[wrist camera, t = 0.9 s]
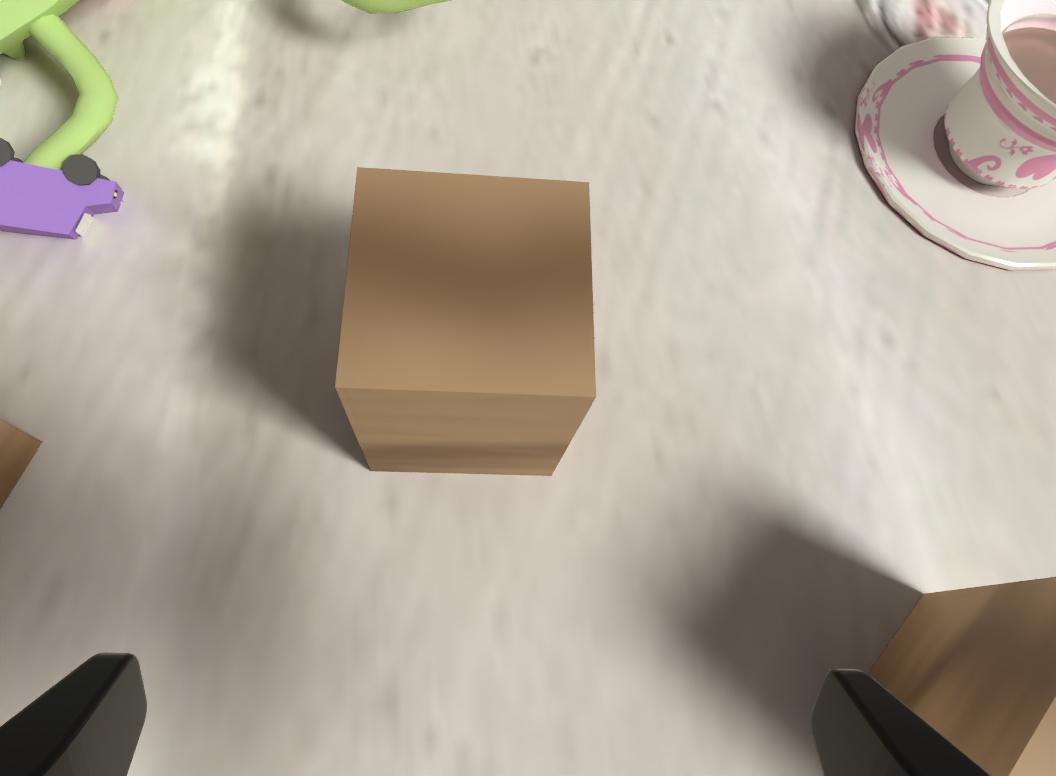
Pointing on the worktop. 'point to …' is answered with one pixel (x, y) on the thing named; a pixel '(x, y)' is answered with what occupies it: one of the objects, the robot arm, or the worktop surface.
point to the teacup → (971, 136)
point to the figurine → (74, 127)
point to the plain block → (467, 321)
